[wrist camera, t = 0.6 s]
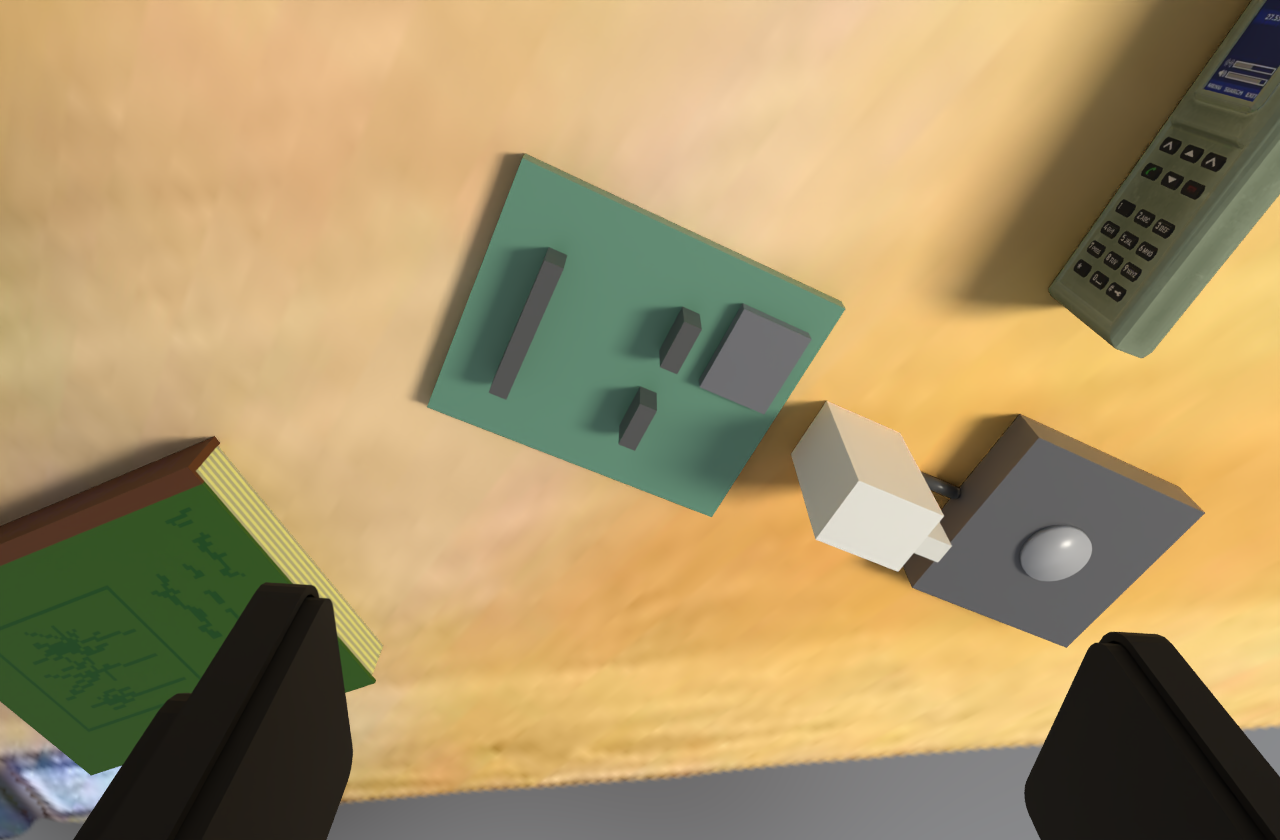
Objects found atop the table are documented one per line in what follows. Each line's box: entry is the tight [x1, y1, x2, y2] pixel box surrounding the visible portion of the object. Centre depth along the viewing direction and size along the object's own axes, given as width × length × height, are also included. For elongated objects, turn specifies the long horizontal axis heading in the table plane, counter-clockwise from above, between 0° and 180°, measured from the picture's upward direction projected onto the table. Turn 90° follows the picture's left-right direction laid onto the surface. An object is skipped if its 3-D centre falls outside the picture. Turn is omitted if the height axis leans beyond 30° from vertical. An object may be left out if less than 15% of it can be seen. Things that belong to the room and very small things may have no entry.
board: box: [427, 154, 845, 517], centre depth 43 cm, size 15×18×3 cm
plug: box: [791, 401, 952, 572], centre depth 44 cm, size 4×6×8 cm, turn 65°
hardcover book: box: [0, 436, 383, 775], centre depth 53 cm, size 25×19×4 cm
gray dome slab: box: [903, 414, 1205, 648], centre depth 48 cm, size 12×15×3 cm
